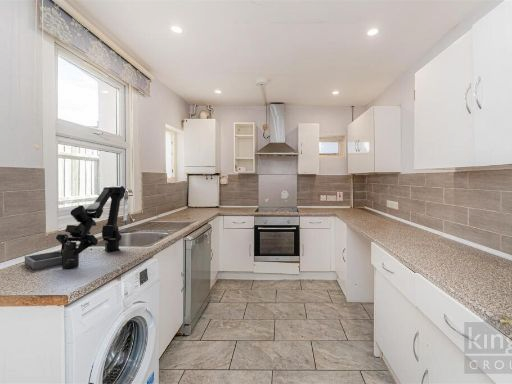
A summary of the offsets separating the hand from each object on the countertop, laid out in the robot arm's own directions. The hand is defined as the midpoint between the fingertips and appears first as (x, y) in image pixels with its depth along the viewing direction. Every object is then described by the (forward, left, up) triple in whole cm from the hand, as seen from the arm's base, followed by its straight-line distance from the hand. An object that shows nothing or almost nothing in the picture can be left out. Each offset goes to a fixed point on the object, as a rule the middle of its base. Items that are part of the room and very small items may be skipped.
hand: (68, 254), depth 132 cm
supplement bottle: (-1, -1, -7) cm, 7 cm away
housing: (+4, -16, -7) cm, 18 cm away
